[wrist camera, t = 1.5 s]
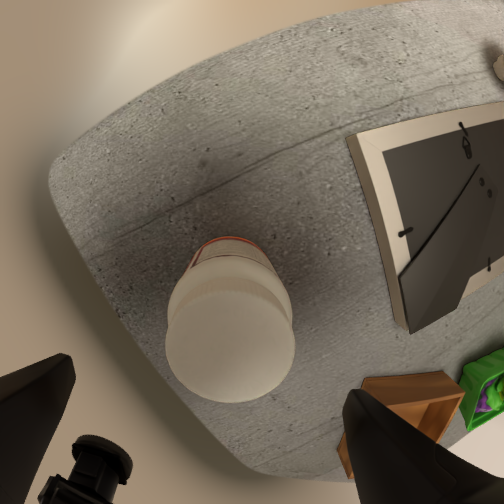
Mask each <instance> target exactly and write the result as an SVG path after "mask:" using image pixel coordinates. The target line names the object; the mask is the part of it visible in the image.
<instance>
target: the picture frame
mask: <svg viewBox="0 0 504 504" xmlns="http://www.w3.org/2000/svg"><path fill="white" fill-rule="evenodd" d="M345 139H346V142H347V144H348V147H349V150H350V153H351V155H352V158H353V161H354V164H355V167H356V170H357V173H358V176H359V179H360V182H361V185H362V189H363V192H364V195H365V198H366V202H367V205H368V208H369V212H370V215H371V219H372V222H373V226H374V230H375V233H376V237H377V241H378V245H379V249H380V253H381V257H382V261H383V265H384V270H385V274H386V279H387V283H388V288H389V293H390V298H391V303H392V308H393V313H394V319H395V322H396V323H397V324H399V325H400V326H401V327H402V328H403V329H404V330H406V331H407V330H409V334H410V335H411V334H413V333H415V332H417V331H419V330H420V329H422V328H424V327H426V326H428V325H429V324H431V323H433V322H435V321H436V320H438V319H440V318H441V317H443V316H445V315H447V314H448V313H450V312H452V311H453V310H455V309H456V308H457V306H458V304H459V302H460V300H462V299H463V298H465V297H466V296H468V295H470V294H471V293H473V292H474V291H476V290H477V289H479V288H480V287H482V286H483V285H485V284H486V283H488V282H489V281H491V280H492V279H494V278H495V277H497V276H498V275H500V274H501V273H502V272H504V101H502V102H496V103H489V104H483V105H478V106H472V107H467V108H462V109H456V110H451V111H446V112H442V113H437V114H432V115H428V116H423V117H419V118H415V119H411V120H406V121H402V122H398V123H394V124H390V125H386V126H383V127H379V128H375V129H371V130H368V131H364V132H360V133H357V134H354V135H352V136H349V137H347V138H345Z"/></svg>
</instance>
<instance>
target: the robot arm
mask: <svg viewBox="0 0 504 504" xmlns="http://www.w3.org/2000/svg"><path fill="white" fill-rule="evenodd" d="M75 380H76V374H75V370H74V366H73V361H72V358H71V356H69V355H66V354H62V353H59V354H56V355H54V356H51V357H49V358H47V359H44V360H42V361H39V362H37V363H34V364H32V365H30V366H27V367H25V368H22V369H19V370H17V371H15V372H12V373H10V374H7V375H5V376H2V377H0V504H24V502H25V499H26V497H27V495H28V492H29V489H30V487H31V484H32V482H33V480H34V477H35V475H36V473H37V470H38V468H39V466H40V463H41V461H42V459H43V456H44V454H45V452H46V450H47V448H48V445H49V443H50V441H51V439H52V437H53V435H54V433H55V430H56V428H57V426H58V424H59V422H60V420H61V418H62V416H63V413H64V410H65V408H66V405H67V402H68V399H69V396H70V394H71V391H72V389H73V386H74V384H75ZM342 415H343V422H344V429H345V436H346V444H347V451H348V455H349V459H350V463H351V467H352V471H353V475H354V479H355V483H356V487H357V491H358V495H359V499H360V503H361V504H504V478H500V477H496V476H494V475H491V474H490V473H488V472H486V471H484V470H482V469H480V468H478V467H476V466H474V465H472V464H470V463H468V462H467V461H465V460H463V459H461V458H460V457H457V456H456V455H455V454H453V453H451V452H450V451H448V450H447V449H445V448H444V447H442V446H441V445H440V444H438V443H436V442H435V441H434V440H432V439H431V438H429V437H428V436H427V435H425V434H424V433H422V432H421V431H419V430H418V429H417V428H415V427H414V426H412V425H411V424H410V423H408V422H407V421H406V420H404V419H403V418H401V417H400V416H399V415H397V414H396V413H395V412H393V411H392V410H390V409H389V408H388V407H386V406H385V405H384V404H382V403H381V402H380V401H378V400H377V399H376V398H374V397H373V396H372V395H370V394H369V393H368V392H366V391H365V390H363V389H352V390H350V392H349V393H348V396H347V399H346V401H345V404H344V406H343V410H342ZM72 449H73V451H74V454H75V457H76V459H77V461H76V463H75V465H74V467H73V469H72V472H71V474H70V476H69V478H68V480H66V479H65V478H63V477H61V475H59V474H57V475H56V476H55V477H53V476H50V477H49V479H48V481H47V483H46V485H45V486H44V488H43V489H42V491H41V492H40V494H39V495H38V498H37V499H38V501H39V504H113V503H112V501H113V498H114V494H115V491H116V488H117V485H118V484H121V485H127V479H126V476H125V472H124V468H123V464H122V460H121V457H120V456H119V455H117V454H113V453H109V452H105V451H101V450H98V449H94V448H90V447H87V446H84V445H80V444H77V443H73V444H72Z"/></svg>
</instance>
